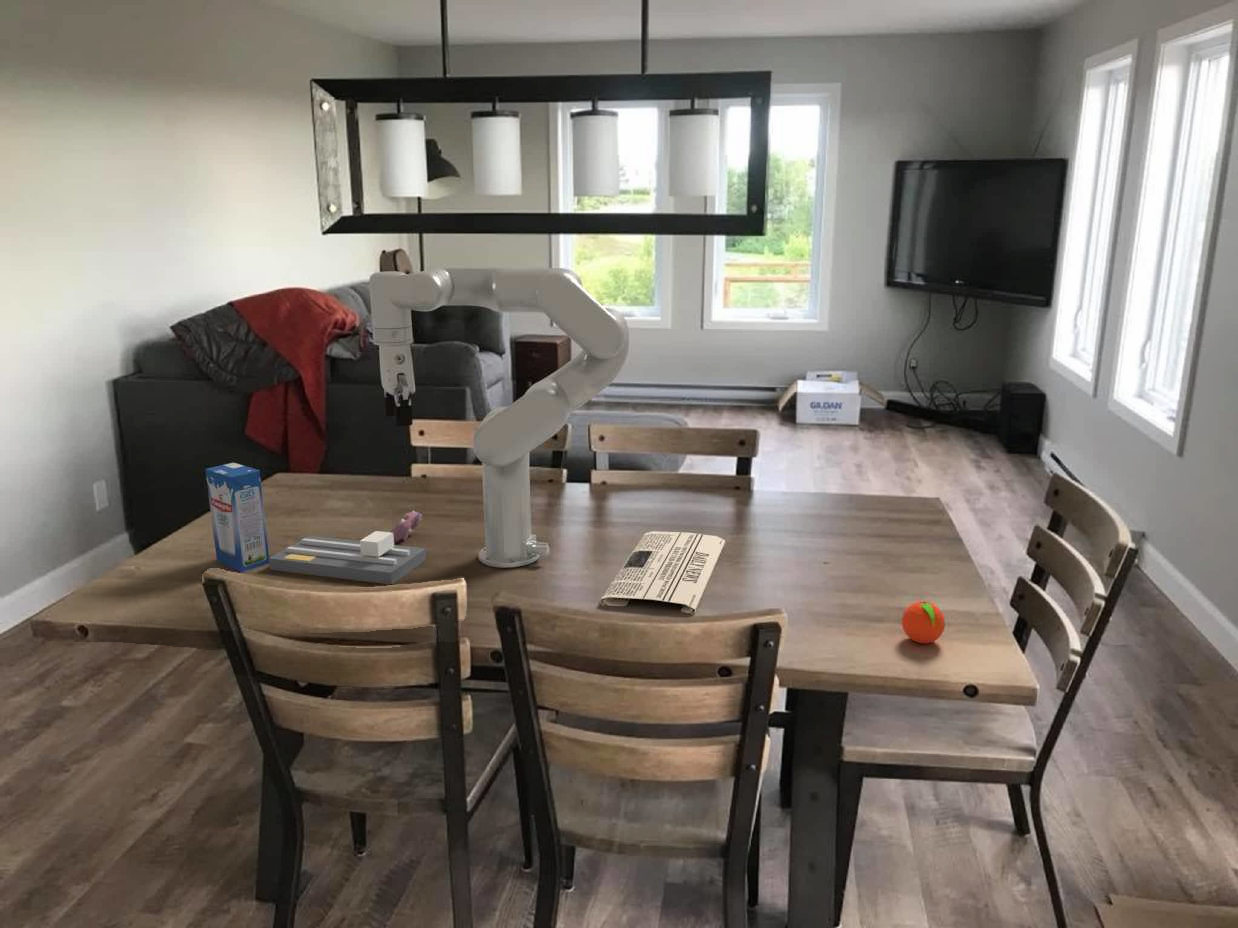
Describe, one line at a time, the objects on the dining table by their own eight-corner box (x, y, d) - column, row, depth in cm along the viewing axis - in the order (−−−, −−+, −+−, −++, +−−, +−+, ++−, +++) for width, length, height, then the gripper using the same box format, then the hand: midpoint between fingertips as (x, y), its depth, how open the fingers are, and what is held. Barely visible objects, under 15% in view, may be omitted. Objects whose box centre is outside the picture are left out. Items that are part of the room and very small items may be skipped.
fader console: (426, 559, 205) (425, 544, 204) (391, 584, 192) (390, 568, 192) (310, 546, 214) (309, 531, 213) (270, 569, 201) (268, 553, 200)
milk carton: (216, 561, 206) (205, 468, 200) (244, 552, 210) (233, 462, 205) (242, 572, 200) (231, 477, 194) (270, 563, 204) (259, 470, 199)
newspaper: (644, 541, 216) (644, 529, 216) (733, 548, 212) (733, 535, 211) (600, 608, 182) (600, 594, 181) (704, 618, 177) (704, 603, 177)
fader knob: (394, 551, 202) (393, 532, 201) (379, 561, 197) (377, 542, 196) (377, 549, 204) (375, 530, 202) (361, 559, 198) (359, 540, 197)
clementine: (953, 652, 162) (956, 612, 160) (912, 654, 162) (915, 614, 160) (933, 631, 170) (936, 592, 168) (894, 633, 169) (896, 594, 167)
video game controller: (399, 552, 214) (411, 525, 212) (381, 542, 215) (393, 515, 212) (417, 537, 224) (429, 511, 221) (400, 527, 224) (411, 501, 222)
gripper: (422, 340, 188) (427, 427, 193) (402, 329, 203) (407, 410, 208) (382, 343, 185) (389, 431, 190) (365, 331, 200) (371, 414, 205)
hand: (398, 420), depth 199 cm, fingers open, 9 cm apart
